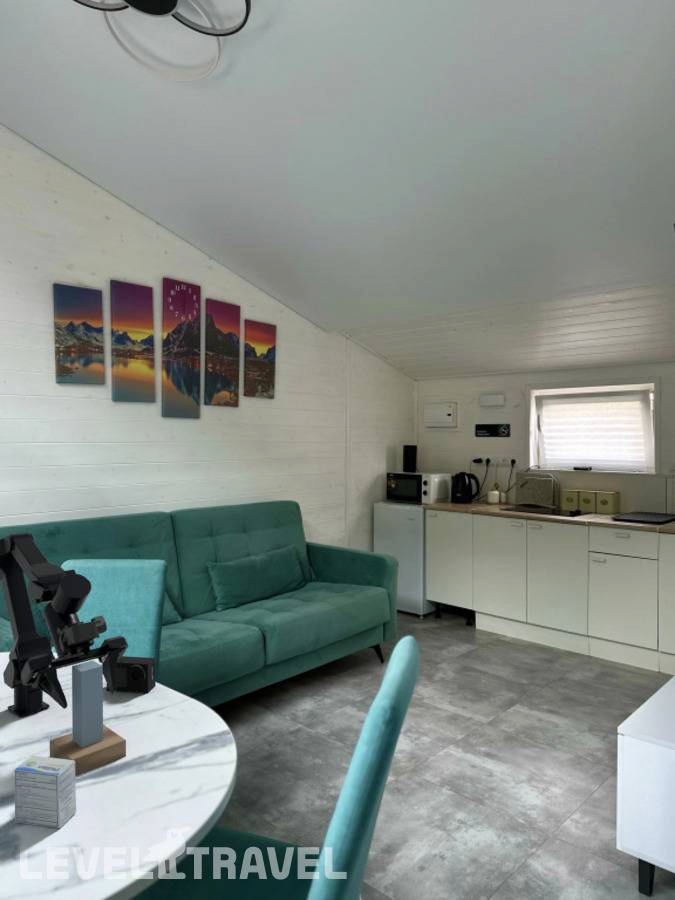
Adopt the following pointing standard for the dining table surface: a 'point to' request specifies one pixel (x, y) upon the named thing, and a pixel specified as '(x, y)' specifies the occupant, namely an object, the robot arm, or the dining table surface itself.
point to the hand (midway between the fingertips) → (90, 699)
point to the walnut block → (89, 750)
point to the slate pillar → (87, 703)
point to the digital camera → (135, 674)
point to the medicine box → (45, 791)
